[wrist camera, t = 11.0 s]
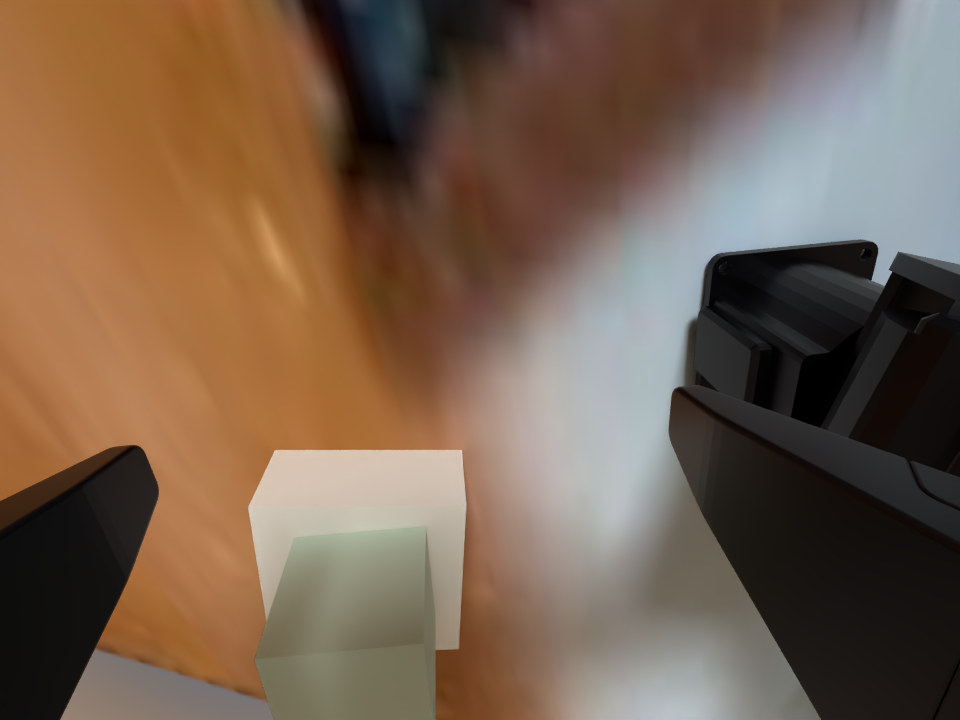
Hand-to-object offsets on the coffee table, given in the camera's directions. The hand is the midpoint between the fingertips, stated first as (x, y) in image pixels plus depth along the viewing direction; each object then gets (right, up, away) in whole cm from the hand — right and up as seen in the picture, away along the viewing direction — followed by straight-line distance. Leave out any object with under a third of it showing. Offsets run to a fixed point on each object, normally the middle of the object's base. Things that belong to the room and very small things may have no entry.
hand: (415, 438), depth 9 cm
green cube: (-3, -8, +12) cm, 15 cm away
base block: (-4, -6, +16) cm, 18 cm away
